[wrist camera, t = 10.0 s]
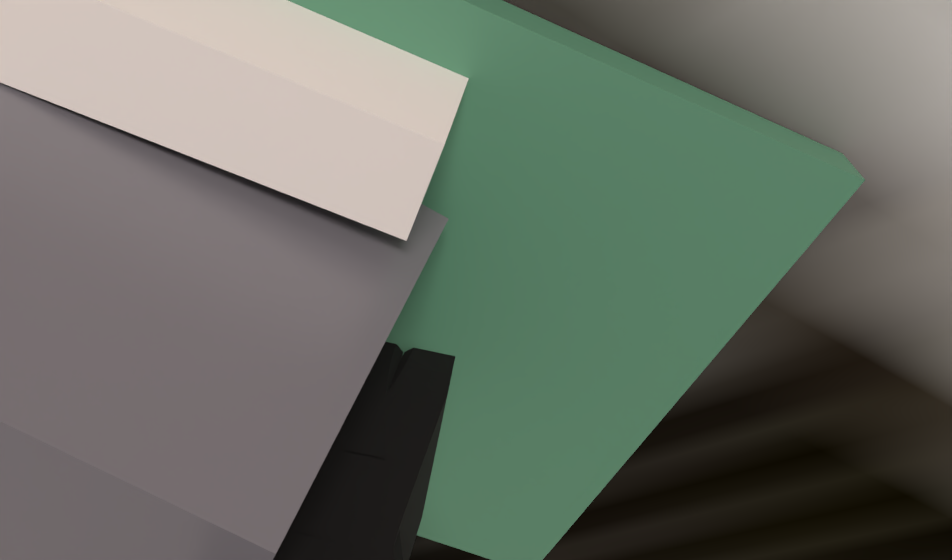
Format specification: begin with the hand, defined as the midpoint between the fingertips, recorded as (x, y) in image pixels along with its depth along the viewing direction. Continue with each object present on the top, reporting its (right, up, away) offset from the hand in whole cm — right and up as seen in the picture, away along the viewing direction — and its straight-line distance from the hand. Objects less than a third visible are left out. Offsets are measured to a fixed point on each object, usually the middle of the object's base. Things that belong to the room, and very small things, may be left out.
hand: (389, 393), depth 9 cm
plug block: (-2, +2, 0) cm, 3 cm away
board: (-2, +2, +1) cm, 3 cm away
